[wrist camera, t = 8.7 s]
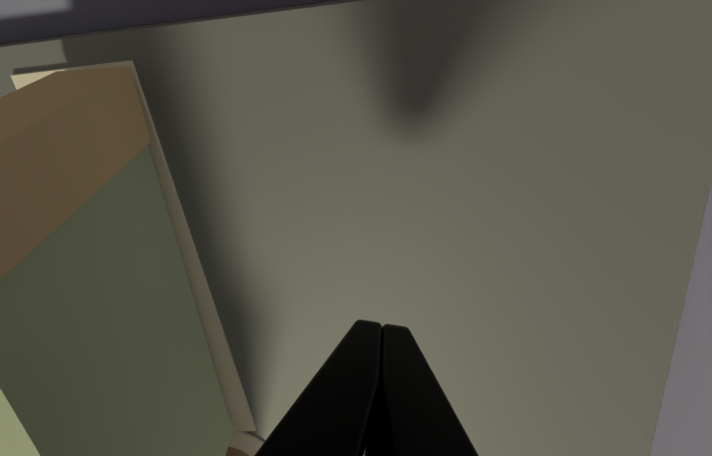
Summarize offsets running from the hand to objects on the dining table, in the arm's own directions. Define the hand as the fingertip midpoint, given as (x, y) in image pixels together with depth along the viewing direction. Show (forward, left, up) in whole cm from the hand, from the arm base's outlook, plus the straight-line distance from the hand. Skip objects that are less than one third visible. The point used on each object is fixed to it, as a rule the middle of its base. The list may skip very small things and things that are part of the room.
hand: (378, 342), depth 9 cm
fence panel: (-5, -1, -3) cm, 6 cm away
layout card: (-5, -6, -3) cm, 9 cm away
